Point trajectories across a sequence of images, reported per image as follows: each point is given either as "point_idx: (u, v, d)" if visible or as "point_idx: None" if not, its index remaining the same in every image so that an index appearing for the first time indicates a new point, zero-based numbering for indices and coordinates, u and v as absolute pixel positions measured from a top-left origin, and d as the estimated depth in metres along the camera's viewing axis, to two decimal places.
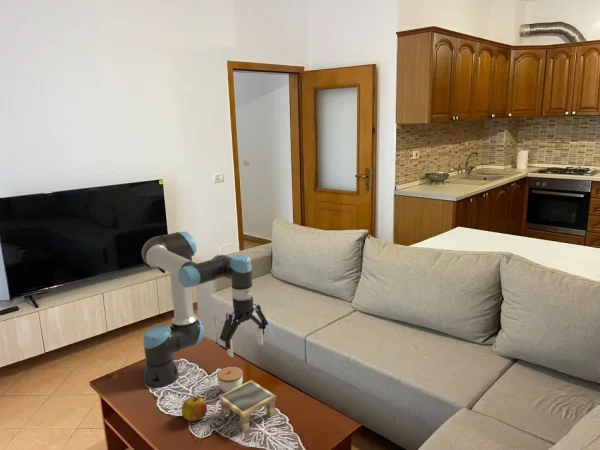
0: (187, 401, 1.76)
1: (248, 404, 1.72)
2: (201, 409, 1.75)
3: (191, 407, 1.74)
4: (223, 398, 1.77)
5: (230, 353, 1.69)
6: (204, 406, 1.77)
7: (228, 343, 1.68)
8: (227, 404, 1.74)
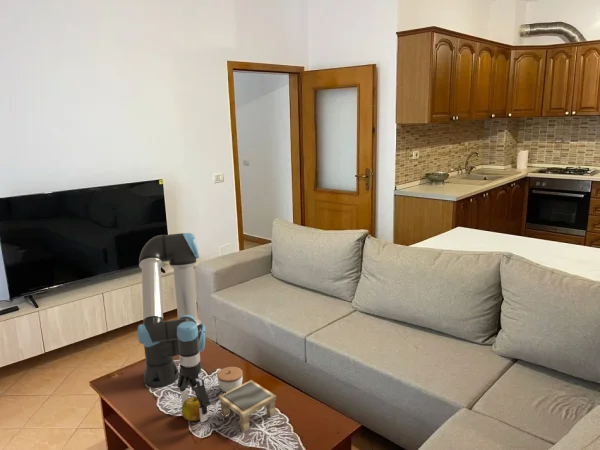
0: (187, 401, 1.76)
1: (248, 404, 1.72)
2: None
3: (191, 407, 1.74)
4: (223, 398, 1.77)
5: None
6: None
7: None
8: (227, 404, 1.74)
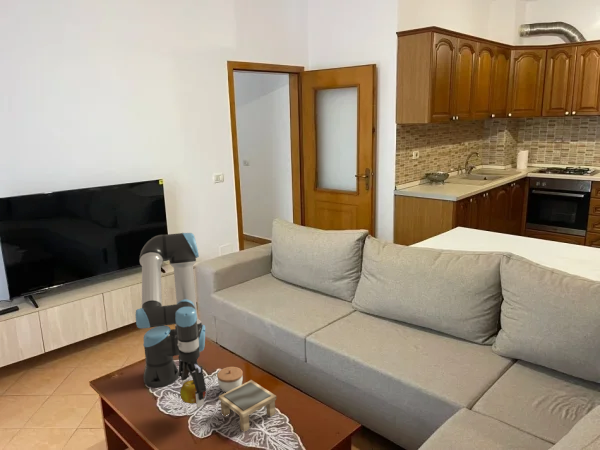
0: (186, 384, 1.75)
1: (248, 404, 1.72)
2: None
3: (190, 389, 1.73)
4: (223, 398, 1.77)
5: None
6: None
7: None
8: (227, 404, 1.74)
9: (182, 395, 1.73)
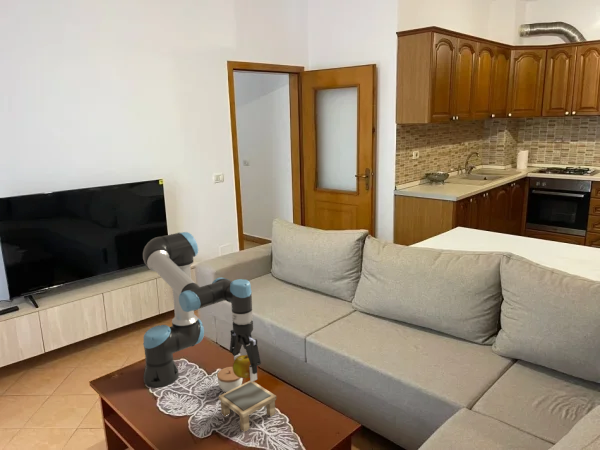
0: (238, 358, 1.74)
1: (248, 404, 1.72)
2: None
3: (243, 363, 1.71)
4: (223, 398, 1.77)
5: None
6: None
7: None
8: (227, 404, 1.74)
9: (235, 369, 1.72)
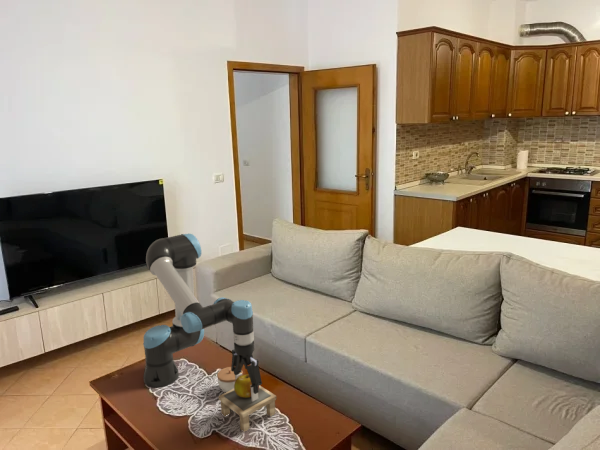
0: (240, 378, 1.76)
1: (248, 404, 1.72)
2: None
3: (244, 383, 1.73)
4: (223, 398, 1.77)
5: None
6: None
7: None
8: (227, 404, 1.74)
9: (237, 389, 1.74)
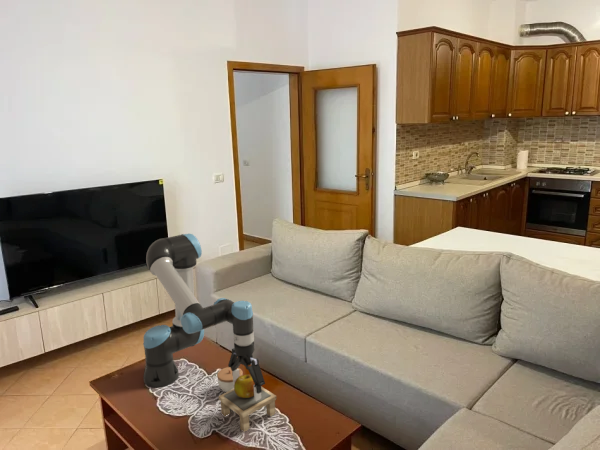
0: (240, 378, 1.76)
1: (248, 404, 1.72)
2: None
3: (244, 383, 1.73)
4: (223, 398, 1.77)
5: None
6: None
7: (233, 372, 1.81)
8: (227, 404, 1.74)
9: (237, 389, 1.74)
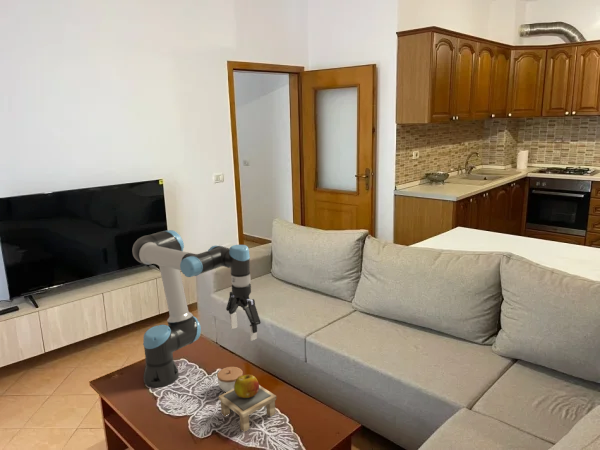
0: (240, 378, 1.76)
1: (248, 404, 1.72)
2: (254, 386, 1.74)
3: (244, 383, 1.73)
4: (223, 398, 1.77)
5: None
6: (257, 383, 1.76)
7: None
8: (227, 404, 1.74)
9: (237, 389, 1.74)
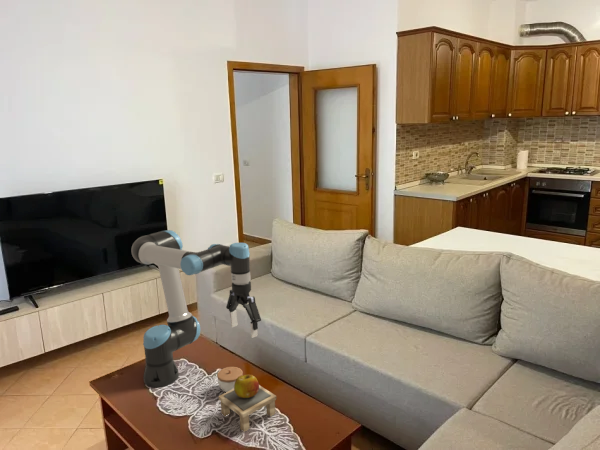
0: (240, 378, 1.76)
1: (248, 404, 1.72)
2: (254, 386, 1.74)
3: (244, 383, 1.73)
4: (223, 398, 1.77)
5: None
6: (257, 383, 1.76)
7: None
8: (227, 404, 1.74)
9: (237, 389, 1.74)
